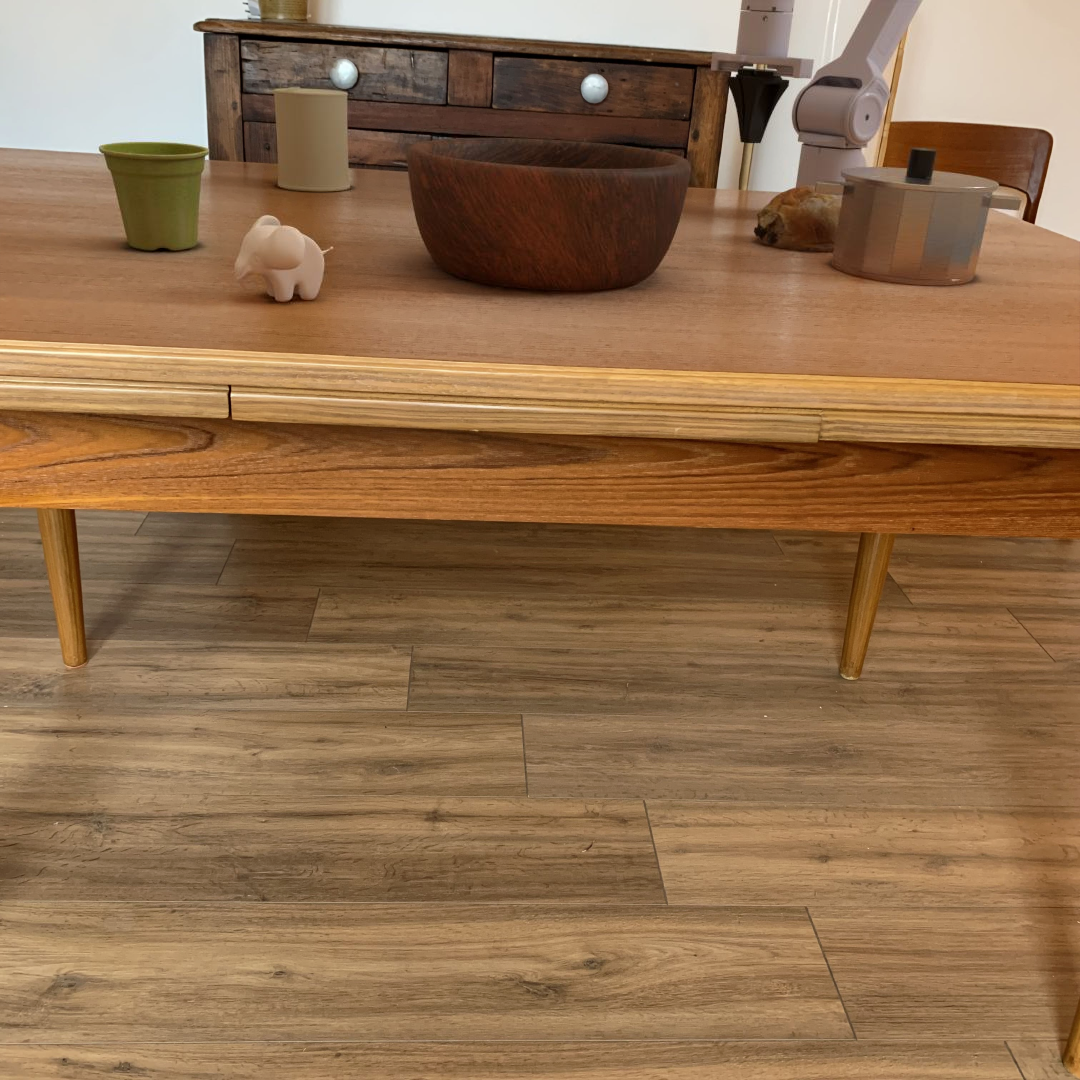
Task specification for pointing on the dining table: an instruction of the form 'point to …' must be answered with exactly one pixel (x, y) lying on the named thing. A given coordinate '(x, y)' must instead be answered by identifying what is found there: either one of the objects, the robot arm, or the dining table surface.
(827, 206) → the bread roll
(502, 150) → the wooden bowl
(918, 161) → the pot lid
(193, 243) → the plant pot
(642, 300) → the dining table surface
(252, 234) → the elephant figurine
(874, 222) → the pot
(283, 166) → the can
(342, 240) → the dining table surface
